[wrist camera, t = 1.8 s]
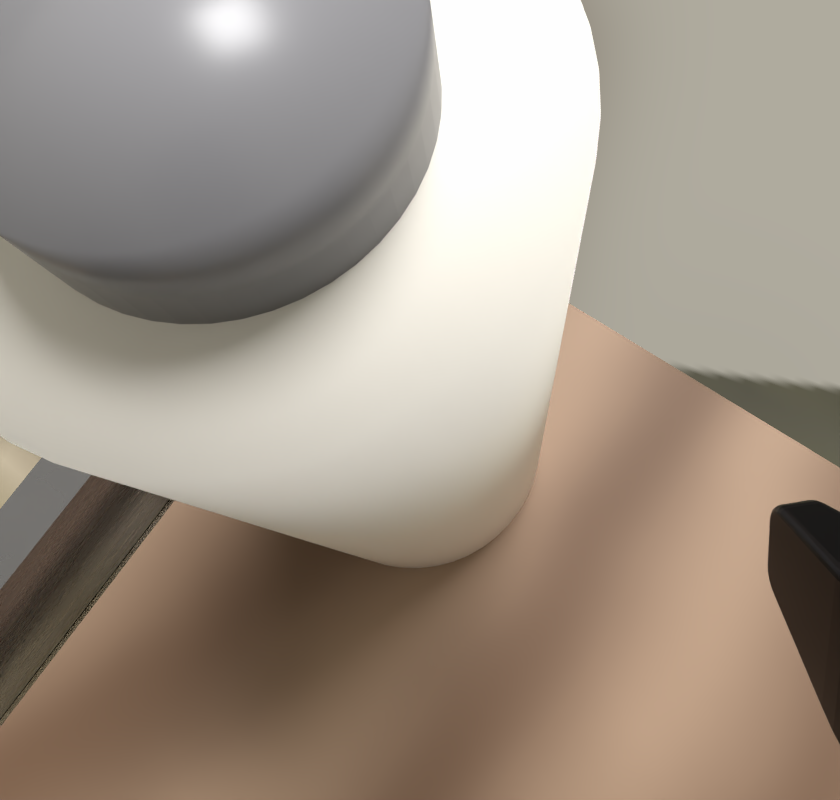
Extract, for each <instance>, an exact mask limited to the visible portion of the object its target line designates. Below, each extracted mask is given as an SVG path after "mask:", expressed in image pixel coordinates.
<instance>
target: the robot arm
mask: <svg viewBox="0 0 840 800" xmlns="http://www.w3.org/2000/svg"><path fill="white" fill-rule="evenodd" d="M768 576H769V581H770V585H771V588H772V591H773V593H774V596H775V598H776V600H777V603H778V605H779V607H780V610H781V612H782V615H783V617H784V619H785V622H786V624H787V626H788V629H789V631H790V633H791V636H792V638H793V640H794V643H795V645H796V648H797V650H798V652H799V655H800V657H801V659H802V662H803V664H804V666H805V669H806V671H807V674H808V676H809V678H810V681H811V683H812V685H813V688H814V690H815V692H816V695H817V697H818V699H819V702H820V704H821V707H822V709H823V711H824V713H825V716H826V718H827V720H828V722H829V724H830V727H831V729H832V731H833V733H834V735H835V737H836V739H837V741H838V743H839V744H840V511H838V510H836V509H834V508H832V507H830V506H828V505H826V504H825V503H822V502H820V501H817V500H806V501H800V502H794V503H788V504H782V505H778V506H776V507H775V508H774V509H773V510H772V512H771V515H770V525H769V546H768Z"/></svg>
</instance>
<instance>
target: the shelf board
mask: <svg viewBox="0 0 840 800" xmlns="http://www.w3.org/2000/svg"><path fill="white" fill-rule="evenodd" d="M806 500H817V501H820V502H822V503H825V504H826V505H828V506H830V507H832V508H834V509H836V510H838V511H840V468H839V467H838V466H836V465H834V464H833V463H831V462H829V461H828V460H826V459H824V458H823V457H821V456H819V455H818V454H816V453H814V452H813V451H811V450H810V449H808V448H806V447H805V446H803V445H801V444H800V443H798V442H796V441H795V440H793V439H791V438H790V437H788V436H786V435H785V434H783V433H782V432H780V431H778V430H777V429H775V428H773V427H772V426H770V425H768V424H767V423H765V422H763V421H762V420H760V419H758V418H757V417H755V416H754V415H752V414H750V413H749V412H747V411H745V410H744V409H742V408H740V407H739V406H737V405H735V404H734V403H732V402H730V401H729V400H727V399H725V398H724V397H722V396H721V395H719V394H717V393H716V392H714V391H712V390H711V389H709V388H707V387H706V386H704V385H702V384H701V383H699V382H697V381H696V380H694V379H693V378H691V377H689V376H688V375H686V374H684V373H683V372H681V371H679V370H678V369H676V368H674V367H673V366H671V365H669V364H668V363H666V362H665V361H663V360H661V359H660V358H658V357H656V356H655V355H653V354H651V353H650V352H648V351H646V350H645V349H643V348H641V347H640V346H638V345H636V344H635V343H633V342H632V341H630V340H628V339H627V338H625V337H623V336H622V335H620V334H618V333H617V332H615V331H613V330H612V329H610V328H609V327H607V326H605V325H603V324H602V323H600V322H599V321H597V320H595V319H593V318H592V317H590V316H589V315H587V314H585V313H584V312H582V311H580V310H579V309H577V308H575V307H574V306H572V305H570V304H568V309H567V314H566V320H565V325H564V330H563V335H562V341H561V346H560V351H559V356H558V362H557V367H556V372H555V377H554V383H553V388H552V393H551V398H550V403H549V409H548V414H547V419H546V424H545V430H544V435H543V440H542V445H541V451H540V456H539V461H538V466H537V470H536V474H535V478H534V482H533V484H532V487H531V489H530V491H529V494H528V496H527V498H526V500H525V502H524V504H523V505H522V507H521V509H520V510H519V512H518V513H517V515H516V516H515V517H514V519H513V520H512V521H511V522H510V524H509V525H508V526H507V527H506V528H505V529H504V530H503V531H502V532H501V533H500V534H499V535H498V536H497V537H496V538H495V539H493V540H492V541H491V542H489V543H488V544H487V545H485V546H484V547H483V548H481V549H479V550H477V551H476V552H474V553H472V554H470V555H469V556H466V557H464V558H461V559H459V560H456V561H454V562H450V563H447V564H443V565H439V566H433V567H425V568H400V567H394V566H387V565H383V564H380V563H377V562H373V561H370V560H367V559H363V558H360V557H357V556H354V555H351V554H347V553H344V552H341V551H338V550H334V549H331V548H328V547H325V546H321V545H318V544H315V543H312V542H308V541H305V540H302V539H299V538H295V537H292V536H289V535H286V534H282V533H279V532H276V531H273V530H269V529H266V528H263V527H260V526H256V525H253V524H250V523H247V522H243V521H240V520H237V519H234V518H230V517H227V516H224V515H221V514H217V513H214V512H211V511H208V510H204V509H201V508H198V507H195V506H191V505H188V504H185V503H182V502H178V501H174V502H173V503H172V504H171V506H170V507H169V508H168V510H167V511H166V512H165V514H164V515H163V516H162V517H161V519H160V520H159V521H158V523H157V524H156V525H155V527H154V528H153V529H152V530H151V532H150V533H149V534H148V536H147V537H146V538H145V540H144V541H143V542H142V543H141V545H140V546H139V547H138V549H137V550H136V551H135V553H134V554H133V555H132V556H131V558H130V559H129V560H128V562H127V563H126V564H125V566H124V567H123V568H122V569H121V571H120V572H119V573H118V575H117V576H116V577H115V579H114V580H113V581H112V582H111V584H110V585H109V586H108V588H107V589H106V590H105V592H104V593H103V594H102V595H101V597H100V598H99V599H98V601H97V602H96V603H95V604H94V606H93V607H92V608H91V610H90V611H89V612H88V614H87V615H86V616H85V617H84V619H83V620H82V621H81V623H80V624H79V625H78V627H77V628H76V629H75V630H74V632H73V633H72V634H71V636H70V637H69V638H68V640H67V641H66V642H65V643H64V645H63V646H62V647H61V649H60V650H59V651H58V653H57V654H56V655H55V656H54V658H53V659H52V660H51V662H50V663H49V664H48V666H47V667H46V668H45V669H44V671H43V672H42V673H41V675H40V676H39V677H38V679H37V680H36V681H35V682H34V684H33V685H32V686H31V688H30V689H29V690H28V692H27V693H26V694H25V695H24V697H23V698H22V699H21V701H20V702H19V703H18V705H17V706H16V707H15V708H14V710H13V711H12V712H11V714H10V715H9V716H8V718H7V719H6V720H5V721H4V723H3V724H2V725H1V727H0V800H840V744H839V743H838V741H837V739H836V737H835V735H834V733H833V731H832V729H831V727H830V724H829V722H828V720H827V718H826V716H825V713H824V711H823V709H822V707H821V704H820V702H819V699H818V697H817V695H816V692H815V690H814V688H813V685H812V683H811V681H810V678H809V676H808V674H807V671H806V669H805V666H804V664H803V662H802V659H801V657H800V655H799V652H798V650H797V648H796V645H795V643H794V640H793V638H792V636H791V633H790V631H789V629H788V626H787V624H786V622H785V619H784V617H783V615H782V612H781V610H780V607H779V605H778V603H777V600H776V598H775V596H774V593H773V591H772V588H771V585H770V581H769V576H768V546H769V525H770V515H771V512H772V510H773V509H774V508H775V507H776V506H778V505H782V504H788V503H794V502H800V501H806Z"/></svg>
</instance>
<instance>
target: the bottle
mask: <svg viewBox="0 0 840 800" xmlns="http://www.w3.org/2000/svg"><path fill="white" fill-rule="evenodd" d="M599 83H600V82H599V67H598V63H597V57H596V52H595V48H594V43H593V38H592V33H591V28H590V25H589V22H588V19H587V16H586V14H585V11H584V8H583V6H582V3H581V1H580V0H0V436H1V437H2V438H4V439H5V440H7V441H8V442H10V443H12V444H14V445H16V446H18V447H20V448H22V449H25V450H27V451H29V452H31V453H33V454H35V455H37V456H40V457H42V458H44V459H46V460H48V461H50V462H52V463H55V464H58V465H61V466H65V467H68V468H71V469H74V470H78V471H81V472H84V473H87V474H91V475H94V476H97V477H100V478H104V479H107V480H110V481H113V482H117V483H120V484H123V485H126V486H130V487H133V488H136V489H139V490H143V491H146V492H149V493H152V494H156V495H159V496H162V497H165V498H169V499H172V500H175V501H178V502H182V503H185V504H188V505H191V506H195V507H198V508H201V509H204V510H208V511H211V512H214V513H217V514H221V515H224V516H227V517H230V518H234V519H237V520H240V521H243V522H247V523H250V524H253V525H256V526H260V527H263V528H266V529H269V530H273V531H276V532H279V533H282V534H286V535H289V536H292V537H295V538H299V539H302V540H305V541H308V542H312V543H315V544H318V545H321V546H325V547H328V548H331V549H334V550H338V551H341V552H344V553H347V554H351V555H354V556H357V557H360V558H363V559H367V560H370V561H373V562H377V563H380V564H383V565H387V566H394V567H400V568H425V567H433V566H439V565H443V564H447V563H450V562H454V561H456V560H459V559H461V558H464V557H466V556H469V555H470V554H472V553H474V552H476V551H477V550H479V549H481V548H483V547H484V546H485V545H487V544H488V543H489V542H491V541H492V540H493V539H495V538H496V537H497V536H498V535H499V534H500V533H501V532H502V531H503V530H504V529H505V528H506V527H507V526H508V525H509V524H510V522H511V521H512V520H513V519H514V517H515V516H516V515H517V513H518V512H519V510H520V509H521V507H522V505H523V504H524V502H525V500H526V498H527V496H528V494H529V491H530V489H531V487H532V484H533V482H534V478H535V474H536V470H537V466H538V461H539V456H540V451H541V445H542V440H543V435H544V430H545V424H546V419H547V414H548V409H549V403H550V398H551V393H552V388H553V383H554V377H555V372H556V367H557V362H558V356H559V351H560V346H561V341H562V335H563V330H564V325H565V320H566V314H567V309H568V304H569V298H570V293H571V288H572V283H573V278H574V273H575V267H576V262H577V257H578V251H579V246H580V241H581V236H582V230H583V225H584V219H585V215H586V210H587V204H588V199H589V194H590V189H591V184H592V178H593V173H594V167H595V162H596V154H597V145H598V136H599V127H600V118H601V110H600V109H601V106H600V85H599Z"/></svg>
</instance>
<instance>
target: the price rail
mask: <svg viewBox="0 0 840 800" xmlns="http://www.w3.org/2000/svg"><path fill="white" fill-rule="evenodd" d="M168 501H169V498H165V497H162V496H159V495H156V494H152V493H149V492H146V491H143V490H139V489H136V488H133V487H130V486H126V485H123V484H120V483H117V482H113V481H110V480H107V479H104V478H100V477H97V476H94V475H91V474H87V473H84V472H81V471H78V470H74V469H71V468H68V467H65V466H61V465H58V464H55V463H52V462H50V461H48V460H46V459H44V458H41V459H40V461H39V462H38V463H37V464H36V465H35V467H34V468H33V469H32V470H31V472H30V473H29V474H28V475H27V477H26V478H25V479H24V480H23V482H22V483H21V484H20V485H19V487H18V488H17V489H16V490H15V491H14V493H13V494H12V495H11V496H10V498H9V499H8V500H7V501H6V503H5V504H4V505H3V506H2V508H1V509H0V718H1V717H2V716H3V714H4V713H5V712H6V711H7V709H8V708H9V707H10V705H11V704H12V703H13V702H14V700H15V699H16V698H17V696H18V695H19V694H20V692H21V691H22V690H23V689H24V687H25V686H26V685H27V683H28V682H29V681H30V679H31V678H32V677H33V676H34V674H35V673H36V672H37V670H38V669H39V668H40V667H41V665H42V664H43V663H44V661H45V660H46V659H47V657H48V656H49V655H50V654H51V652H52V651H53V650H54V648H55V647H56V646H57V644H58V643H59V642H60V641H61V639H62V638H63V637H64V635H65V634H66V633H67V631H68V630H69V629H70V628H71V626H72V625H73V624H74V622H75V621H76V620H77V619H78V617H79V616H80V615H81V613H82V612H83V611H84V609H85V608H86V607H87V606H88V604H89V603H90V602H91V600H92V599H93V598H94V596H95V595H96V594H97V593H98V591H99V590H100V589H101V587H102V586H103V585H104V584H105V582H106V581H107V580H108V578H109V577H110V576H111V574H112V573H113V572H114V571H115V569H116V568H117V567H118V565H119V564H120V563H121V561H122V560H123V559H124V558H125V556H126V555H127V554H128V552H129V551H130V550H131V548H132V547H133V546H134V545H135V543H136V542H137V541H138V539H139V538H140V537H141V536H142V534H143V533H144V532H145V530H146V529H147V528H148V526H149V525H150V524H151V523H152V521H153V520H154V519H155V517H156V516H157V515H158V513H159V512H160V511H161V510H162V508H163V507H164V506H165V504H166V503H167V502H168Z"/></svg>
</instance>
